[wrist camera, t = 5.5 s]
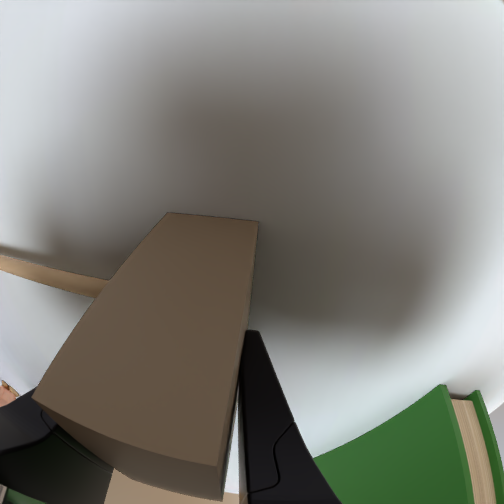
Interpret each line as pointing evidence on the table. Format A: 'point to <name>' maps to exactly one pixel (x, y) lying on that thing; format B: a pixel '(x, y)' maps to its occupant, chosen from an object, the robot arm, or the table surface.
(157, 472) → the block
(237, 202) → the table surface
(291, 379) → the table surface
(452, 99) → the table surface
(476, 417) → the hardback book
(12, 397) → the grandmother figurine
